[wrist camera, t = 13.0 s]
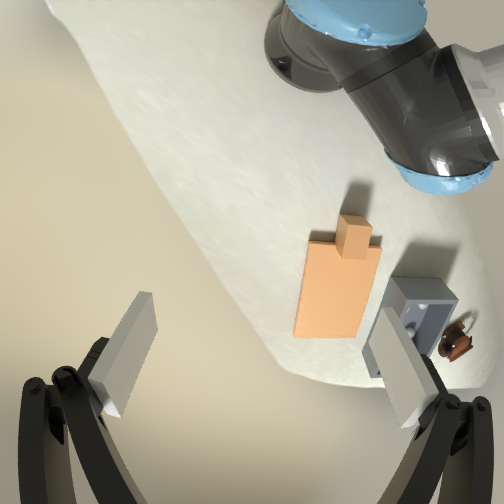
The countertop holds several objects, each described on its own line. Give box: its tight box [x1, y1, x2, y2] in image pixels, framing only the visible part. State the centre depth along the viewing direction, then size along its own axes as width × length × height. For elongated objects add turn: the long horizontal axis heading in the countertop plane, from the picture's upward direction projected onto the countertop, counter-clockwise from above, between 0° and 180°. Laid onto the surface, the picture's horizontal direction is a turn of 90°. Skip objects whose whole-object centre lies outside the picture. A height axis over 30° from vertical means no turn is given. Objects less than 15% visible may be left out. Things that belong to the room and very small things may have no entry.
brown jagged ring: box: [438, 321, 473, 362], centre depth 54 cm, size 12×10×8 cm
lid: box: [293, 214, 382, 338], centre depth 47 cm, size 25×13×6 cm, turn 177°
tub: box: [362, 276, 459, 378], centre depth 49 cm, size 20×13×8 cm, turn 176°
